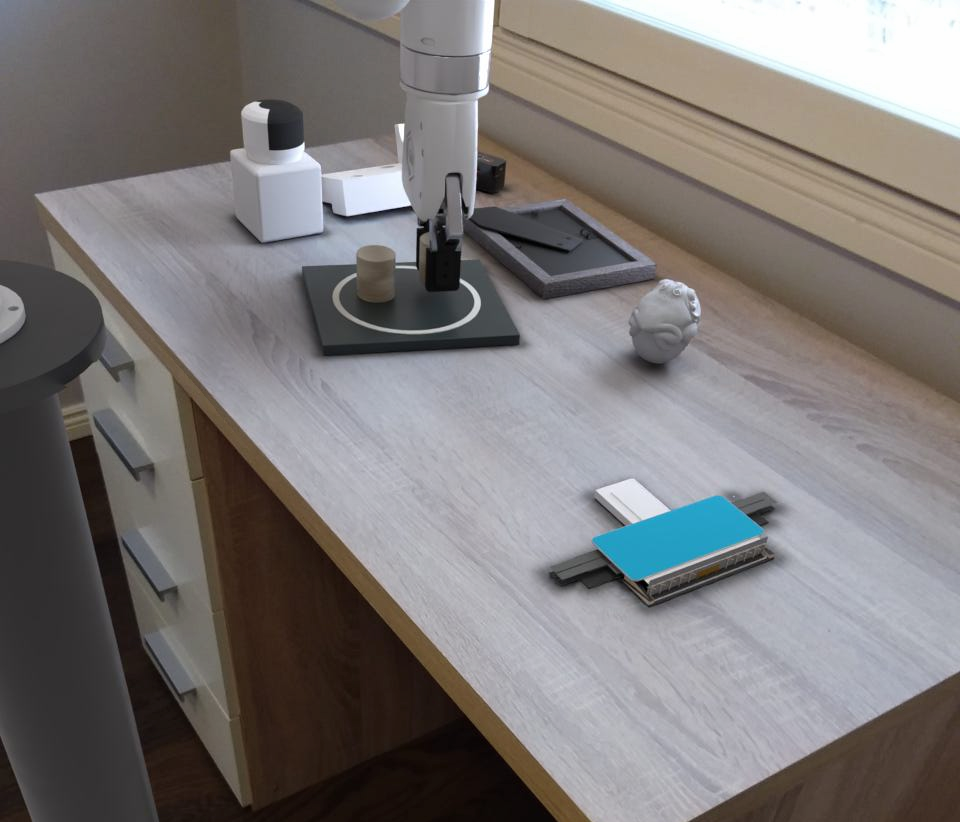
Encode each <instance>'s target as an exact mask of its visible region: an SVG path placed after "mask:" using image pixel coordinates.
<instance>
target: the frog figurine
mask: <svg viewBox="0 0 960 822" xmlns="http://www.w3.org/2000/svg"><path fill="white" fill-rule="evenodd" d="M701 315H702V309H701V304H700V301H699V297H698V296H697V294H696V290H694V289H693V288H689V287H688V286H687V285H686V284H685V283H683V282H680V281H676V280H675V281H674V280H672V279H668V278H664V279H660V280H659V281H658V283H657V285H656V286H655V287H653V288H652V289H650V291H649V292H648V293H647V294H645V295H644V296H642V297H641V298H640V300H639V301H638V302H637V303H636V308H635V309H633V310H632V312H631V314H630V318H629V319H628V325H629V326H630V328H629V331H628V334H629V336H630V337H631V342H632V345H633V348H634V350H635V352H636V353H637V355H639V357H640V358H641V359H643V360H645V361H646V362H649V363H651V364H665V363H669V362H671V361H673V360H674V359H676V358H677V357H679V355H681V354H682V352H684V351H685V349H686V347H688V346H689V344H690V342H691V339H692V338H694V337H695V336H696V335H697V333H698V324H699V323H700V320H701V317H702V316H701Z"/></svg>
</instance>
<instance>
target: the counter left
mask: <svg viewBox="0 0 960 822" xmlns="http://www.w3.org/2000/svg"><path fill="white" fill-rule="evenodd" d="M396 256H397V255H396V252H395V251H394V250H393V249H392V248H391V247H388V246H385V245H378V244H370V245H369V244H368V245H364V246H361V247H359V248H358V249H357V250H356V258H355V259H356V260H355V261H356V264H357V295H358V297H359V298H361V299H362V300H364V301H368V302H373V303H382V302H387V301H390V300H392V299H393V298H394V297H395V265H396V263H397V262H396V260H397V257H396Z"/></svg>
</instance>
